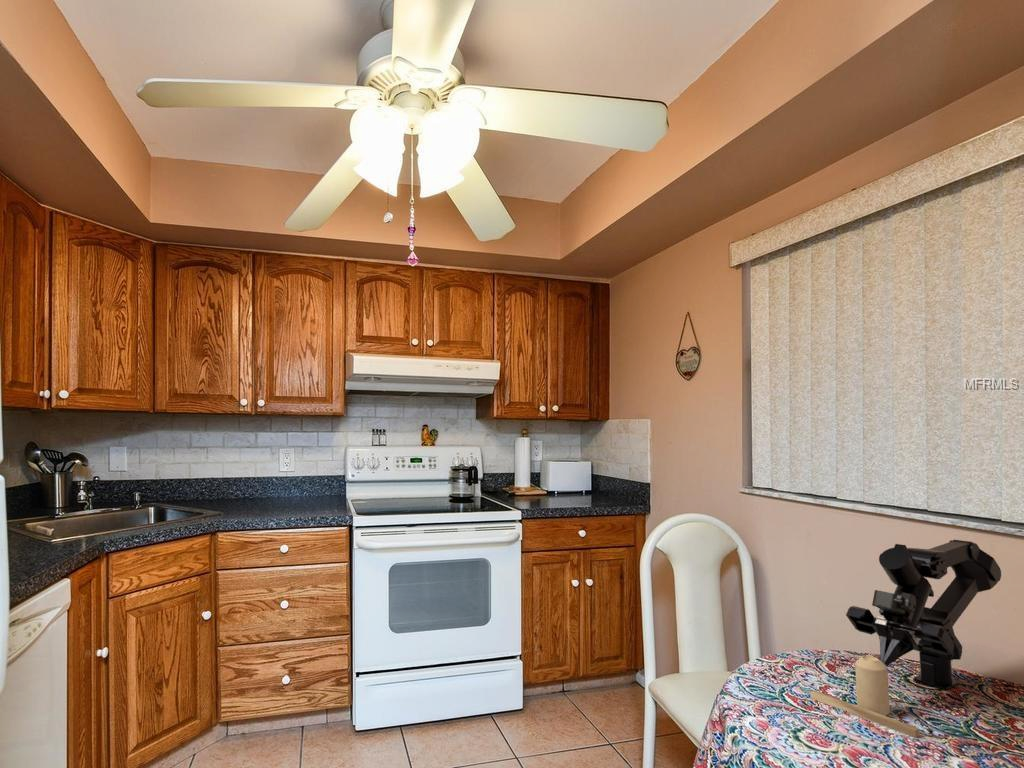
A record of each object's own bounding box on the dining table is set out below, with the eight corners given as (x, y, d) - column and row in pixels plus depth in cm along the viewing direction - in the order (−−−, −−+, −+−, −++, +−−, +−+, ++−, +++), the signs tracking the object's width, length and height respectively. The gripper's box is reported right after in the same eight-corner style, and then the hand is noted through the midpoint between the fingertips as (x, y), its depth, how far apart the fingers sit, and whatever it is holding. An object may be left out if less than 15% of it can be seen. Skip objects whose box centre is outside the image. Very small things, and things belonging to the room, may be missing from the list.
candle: (894, 717, 119) (891, 663, 120) (862, 715, 120) (860, 661, 121) (883, 705, 124) (880, 653, 125) (853, 703, 125) (850, 651, 126)
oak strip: (814, 696, 129) (814, 690, 129) (919, 735, 112) (919, 728, 112) (810, 698, 128) (810, 691, 128) (915, 737, 111) (915, 730, 111)
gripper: (848, 567, 137) (821, 627, 130) (943, 584, 121) (917, 654, 115) (870, 599, 141) (844, 659, 134) (965, 620, 125) (941, 689, 118)
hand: (883, 664), depth 125 cm, fingers closed
